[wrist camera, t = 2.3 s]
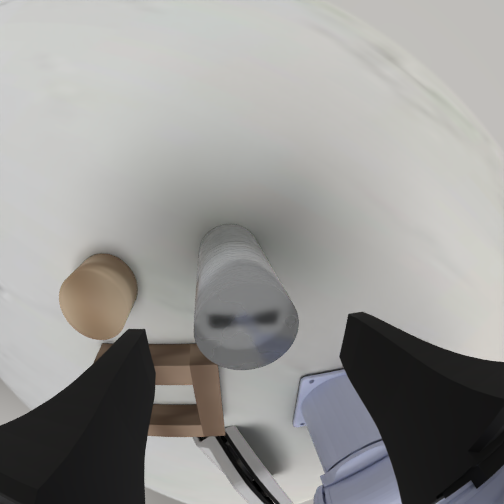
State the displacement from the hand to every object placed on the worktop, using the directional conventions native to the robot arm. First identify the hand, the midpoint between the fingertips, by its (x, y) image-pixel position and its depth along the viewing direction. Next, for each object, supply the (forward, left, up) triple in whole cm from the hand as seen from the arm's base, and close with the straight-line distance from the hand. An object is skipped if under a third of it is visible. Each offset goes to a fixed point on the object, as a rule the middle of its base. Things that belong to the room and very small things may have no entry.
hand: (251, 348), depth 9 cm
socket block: (+6, +12, -10) cm, 17 cm away
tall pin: (0, 0, -10) cm, 10 cm away
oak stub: (+9, +2, -10) cm, 14 cm away
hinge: (-1, +27, -10) cm, 29 cm away
